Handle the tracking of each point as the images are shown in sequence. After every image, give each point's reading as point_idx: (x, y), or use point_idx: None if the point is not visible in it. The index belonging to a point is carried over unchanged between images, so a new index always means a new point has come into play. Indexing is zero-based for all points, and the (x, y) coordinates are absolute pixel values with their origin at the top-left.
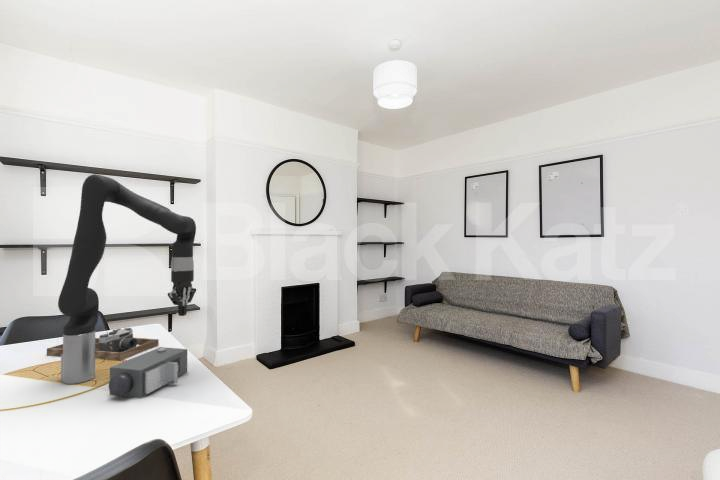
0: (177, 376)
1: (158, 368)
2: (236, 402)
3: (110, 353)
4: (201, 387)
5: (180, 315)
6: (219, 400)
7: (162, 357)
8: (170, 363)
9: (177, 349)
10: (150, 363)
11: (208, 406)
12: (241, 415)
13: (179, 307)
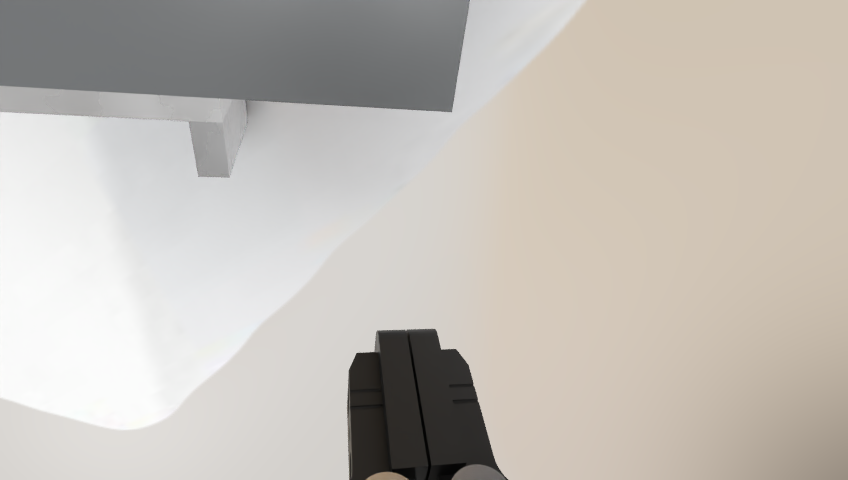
0: (242, 136)
1: (101, 112)
2: (194, 386)
3: None
4: (263, 233)
5: (376, 347)
6: (184, 342)
7: (227, 47)
8: (196, 145)
9: (438, 37)
10: (71, 48)
11: (128, 336)
12: (127, 426)
13: (357, 469)
